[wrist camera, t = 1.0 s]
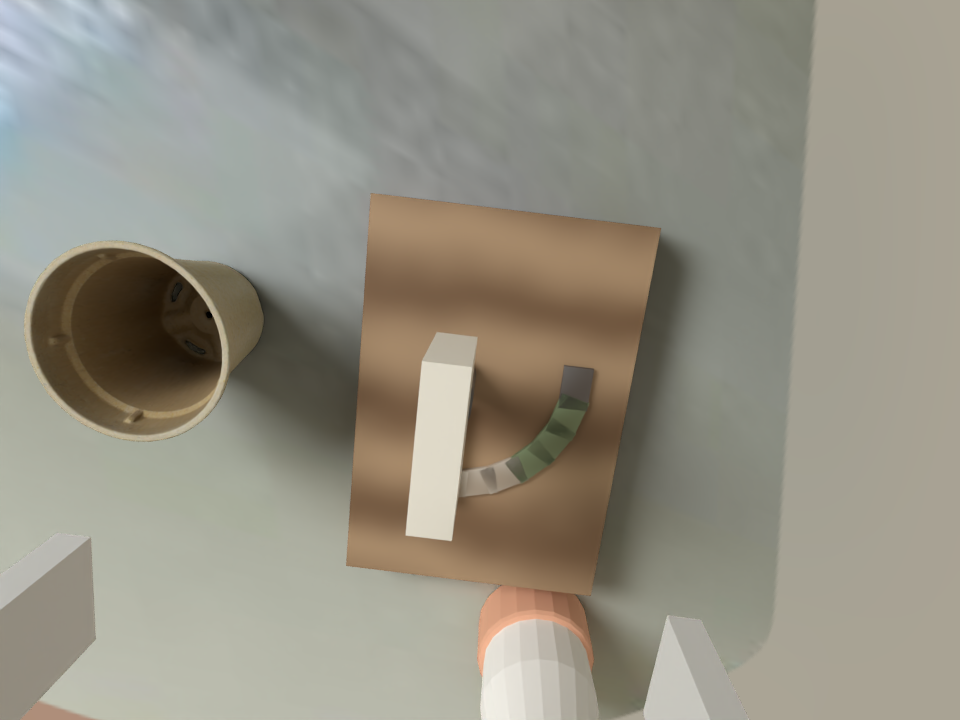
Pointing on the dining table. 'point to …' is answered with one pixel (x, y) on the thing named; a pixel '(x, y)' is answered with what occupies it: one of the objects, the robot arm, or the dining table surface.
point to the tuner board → (498, 385)
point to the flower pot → (138, 337)
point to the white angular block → (441, 435)
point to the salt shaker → (535, 657)
